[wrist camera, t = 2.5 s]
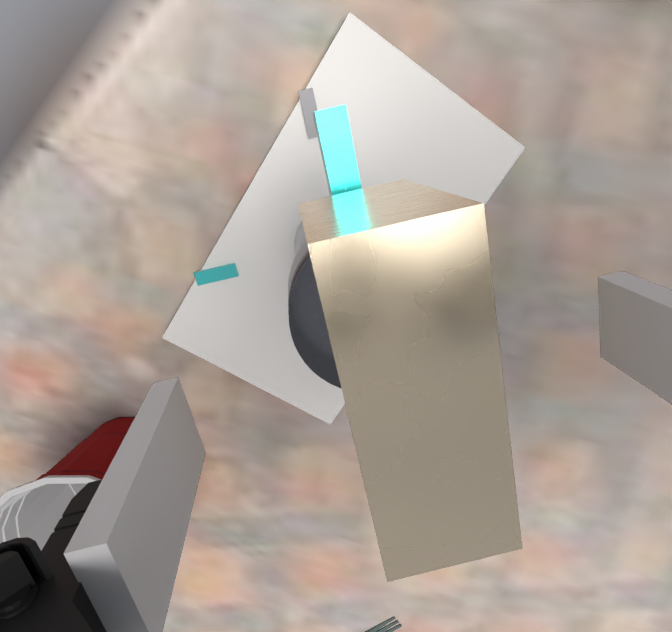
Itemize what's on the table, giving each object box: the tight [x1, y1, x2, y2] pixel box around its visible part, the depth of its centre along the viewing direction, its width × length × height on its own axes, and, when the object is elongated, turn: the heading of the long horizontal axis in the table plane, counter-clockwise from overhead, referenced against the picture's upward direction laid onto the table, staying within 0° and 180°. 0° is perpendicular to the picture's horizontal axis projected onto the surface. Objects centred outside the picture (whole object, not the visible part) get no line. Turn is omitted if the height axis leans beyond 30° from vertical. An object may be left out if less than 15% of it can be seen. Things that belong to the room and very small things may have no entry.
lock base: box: [162, 13, 525, 424], centre depth 30 cm, size 14×24×12 cm, turn 147°
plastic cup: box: [0, 417, 135, 551], centre depth 34 cm, size 11×11×12 cm
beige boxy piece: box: [288, 104, 522, 582], centre depth 18 cm, size 13×7×12 cm, turn 12°
